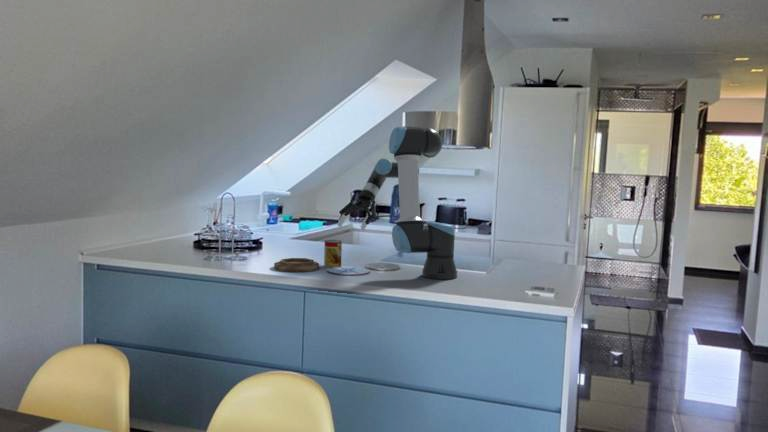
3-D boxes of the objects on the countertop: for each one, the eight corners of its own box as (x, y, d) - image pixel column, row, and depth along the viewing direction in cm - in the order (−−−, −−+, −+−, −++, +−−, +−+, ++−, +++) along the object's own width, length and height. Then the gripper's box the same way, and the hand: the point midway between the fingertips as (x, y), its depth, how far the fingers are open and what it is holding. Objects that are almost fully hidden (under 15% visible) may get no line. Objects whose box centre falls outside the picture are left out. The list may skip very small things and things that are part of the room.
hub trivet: (328, 269, 282) (328, 261, 282) (291, 274, 268) (291, 266, 268) (301, 262, 296) (301, 255, 296) (265, 267, 283) (265, 259, 282)
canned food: (342, 267, 286) (343, 241, 285) (325, 268, 284) (325, 241, 283) (339, 264, 294) (340, 239, 293) (323, 265, 292) (323, 239, 291)
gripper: (392, 201, 305) (375, 234, 294) (350, 197, 318) (332, 229, 307) (387, 190, 300) (369, 224, 289) (345, 187, 313) (326, 220, 302)
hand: (350, 227), depth 298 cm, fingers open, 13 cm apart
